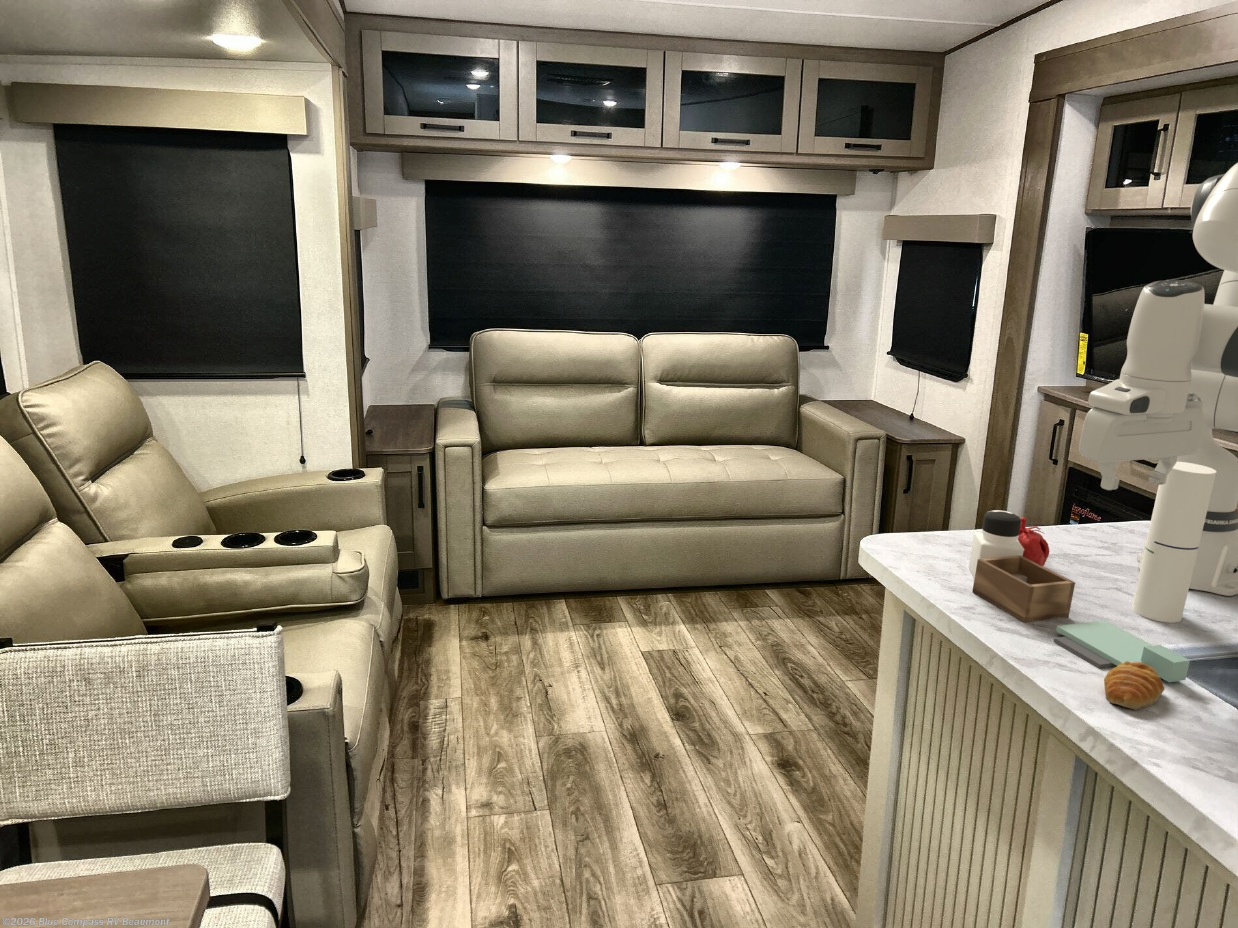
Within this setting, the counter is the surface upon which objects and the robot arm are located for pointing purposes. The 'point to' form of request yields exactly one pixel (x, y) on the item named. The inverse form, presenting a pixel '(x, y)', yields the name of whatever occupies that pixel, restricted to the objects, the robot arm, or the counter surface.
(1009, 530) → the medicine bottle
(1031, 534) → the pomegranate
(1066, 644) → the mat
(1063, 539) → the counter surface
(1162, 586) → the cylindrical container
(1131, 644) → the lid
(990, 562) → the wooden box
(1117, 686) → the pastry
